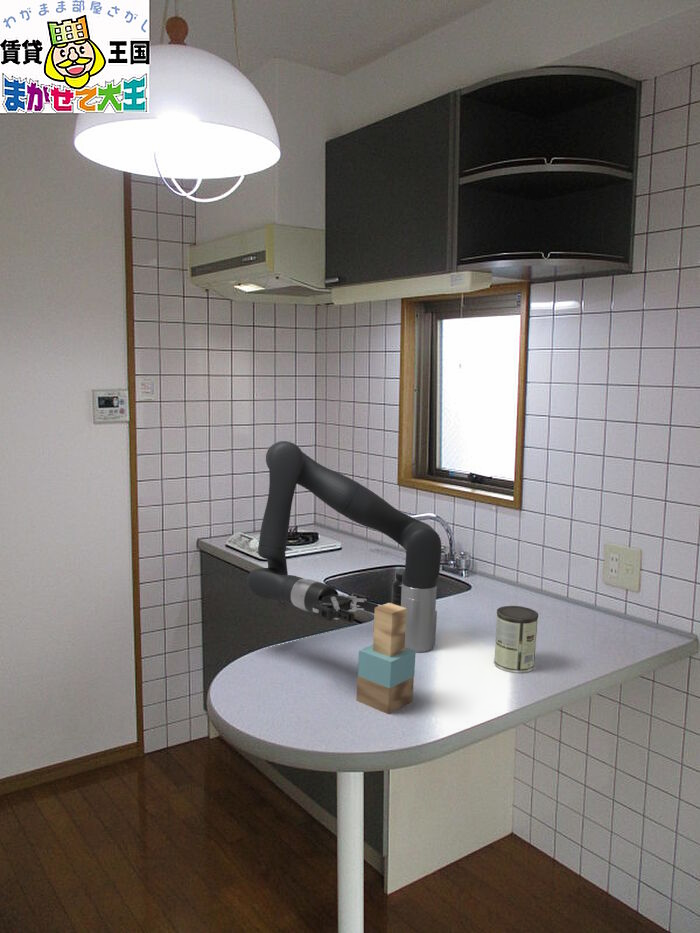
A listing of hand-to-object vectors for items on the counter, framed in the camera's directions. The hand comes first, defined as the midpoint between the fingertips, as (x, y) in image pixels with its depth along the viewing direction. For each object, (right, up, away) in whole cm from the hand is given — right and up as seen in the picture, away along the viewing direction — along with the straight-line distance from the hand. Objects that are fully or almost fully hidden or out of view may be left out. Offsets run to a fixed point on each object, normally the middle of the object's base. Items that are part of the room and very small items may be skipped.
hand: (365, 613), depth 177 cm
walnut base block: (+4, -20, -1) cm, 20 cm away
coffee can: (+38, -17, +22) cm, 47 cm away
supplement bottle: (+12, -11, +60) cm, 62 cm away
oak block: (+5, -8, -3) cm, 10 cm away
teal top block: (+5, -14, -2) cm, 14 cm away
